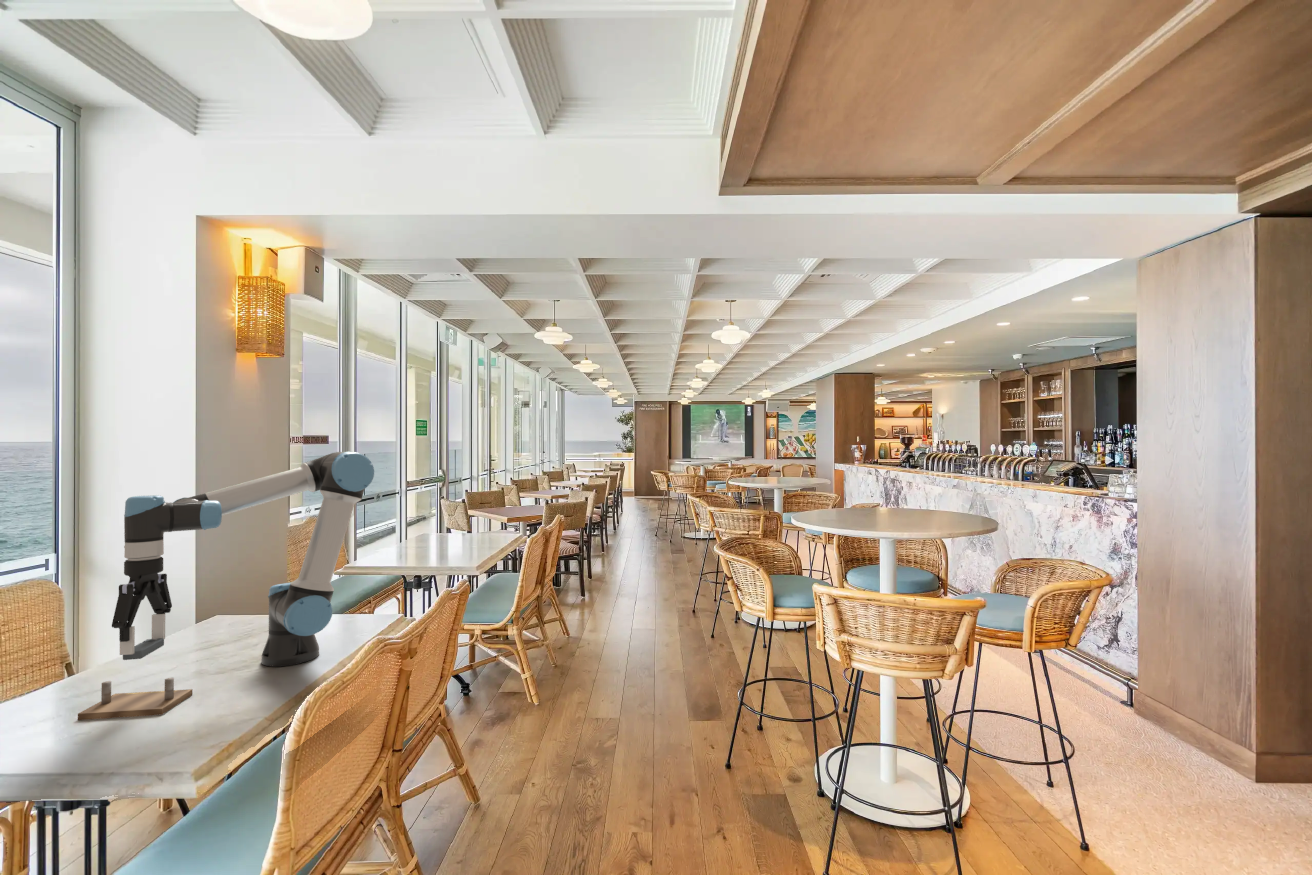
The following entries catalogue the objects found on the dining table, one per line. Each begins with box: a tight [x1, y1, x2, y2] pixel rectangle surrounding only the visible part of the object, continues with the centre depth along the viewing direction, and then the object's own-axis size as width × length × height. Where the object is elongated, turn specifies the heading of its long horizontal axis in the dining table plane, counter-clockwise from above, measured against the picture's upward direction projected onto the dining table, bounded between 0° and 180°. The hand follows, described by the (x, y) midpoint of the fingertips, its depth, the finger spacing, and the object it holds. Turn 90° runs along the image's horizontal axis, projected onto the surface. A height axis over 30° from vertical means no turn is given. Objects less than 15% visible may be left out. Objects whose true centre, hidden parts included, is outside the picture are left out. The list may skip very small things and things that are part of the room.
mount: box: [77, 677, 193, 721], centre depth 151 cm, size 18×12×6 cm, turn 99°
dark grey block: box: [122, 638, 165, 661], centre depth 151 cm, size 4×10×2 cm, turn 15°
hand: (143, 646), depth 151 cm, fingers closed on dark grey block, 11 cm apart
